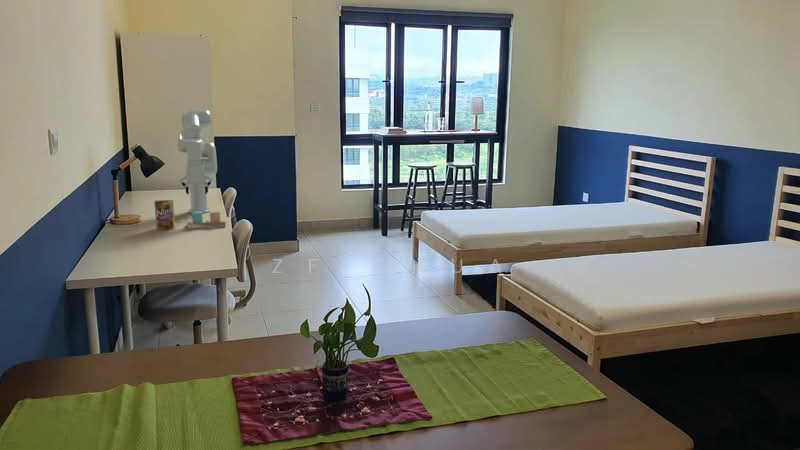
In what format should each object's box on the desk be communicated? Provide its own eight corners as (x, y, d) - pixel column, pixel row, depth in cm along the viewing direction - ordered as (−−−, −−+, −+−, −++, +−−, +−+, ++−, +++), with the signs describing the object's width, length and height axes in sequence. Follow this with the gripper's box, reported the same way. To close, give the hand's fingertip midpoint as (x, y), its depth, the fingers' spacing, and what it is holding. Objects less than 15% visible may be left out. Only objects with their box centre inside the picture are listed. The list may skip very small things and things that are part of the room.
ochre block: (211, 225, 340) (210, 210, 338) (220, 224, 341) (219, 210, 339) (210, 227, 335) (209, 212, 333) (220, 226, 336) (219, 212, 334)
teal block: (194, 221, 347) (193, 207, 345) (203, 221, 348) (203, 207, 346) (192, 228, 332) (191, 213, 330) (202, 227, 334) (201, 213, 332)
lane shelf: (188, 224, 340) (188, 219, 339) (225, 223, 344) (225, 217, 344) (187, 229, 330) (186, 223, 329) (225, 227, 335) (225, 221, 334)
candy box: (156, 229, 328) (153, 201, 325) (158, 227, 332) (155, 199, 329) (173, 229, 329) (171, 201, 326) (175, 227, 334) (173, 199, 330)
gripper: (211, 161, 344) (213, 192, 348) (179, 162, 340) (181, 193, 343) (211, 163, 337) (213, 194, 341) (177, 164, 333) (180, 195, 336)
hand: (197, 193), depth 342 cm, fingers open, 9 cm apart
